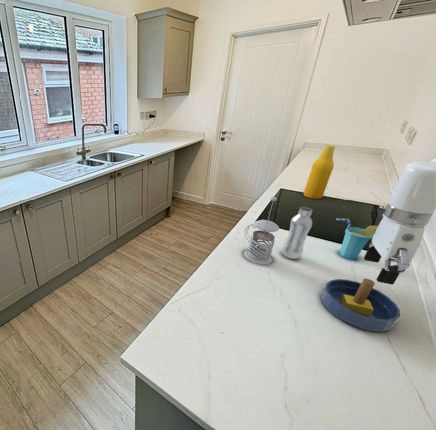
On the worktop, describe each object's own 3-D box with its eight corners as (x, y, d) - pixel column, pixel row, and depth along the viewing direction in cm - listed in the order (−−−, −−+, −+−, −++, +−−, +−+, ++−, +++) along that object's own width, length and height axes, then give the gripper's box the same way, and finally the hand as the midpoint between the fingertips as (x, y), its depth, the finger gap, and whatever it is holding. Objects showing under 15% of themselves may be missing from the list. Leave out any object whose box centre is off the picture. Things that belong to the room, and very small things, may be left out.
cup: (324, 255, 100) (339, 221, 94) (321, 245, 106) (334, 212, 100) (371, 265, 94) (390, 229, 88) (365, 254, 101) (382, 220, 94)
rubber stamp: (365, 306, 77) (380, 280, 72) (370, 316, 74) (386, 289, 69) (340, 300, 79) (353, 274, 75) (343, 309, 76) (357, 282, 72)
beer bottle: (323, 195, 152) (342, 145, 138) (320, 200, 146) (339, 148, 132) (304, 192, 157) (321, 143, 144) (301, 196, 151) (317, 146, 138)
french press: (263, 267, 95) (281, 205, 83) (234, 252, 103) (247, 194, 92) (277, 258, 99) (296, 198, 88) (248, 244, 108) (263, 188, 97)
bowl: (379, 299, 80) (386, 288, 78) (403, 341, 67) (412, 329, 65) (315, 284, 86) (320, 273, 84) (326, 320, 73) (332, 309, 71)
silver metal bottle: (290, 262, 97) (307, 214, 88) (276, 252, 103) (290, 206, 94) (304, 259, 98) (322, 212, 89) (289, 249, 104) (305, 204, 95)
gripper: (450, 234, 54) (411, 296, 62) (410, 202, 68) (382, 256, 76) (401, 228, 57) (370, 288, 65) (373, 198, 71) (350, 251, 79)
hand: (377, 271), depth 70 cm, fingers open, 9 cm apart
